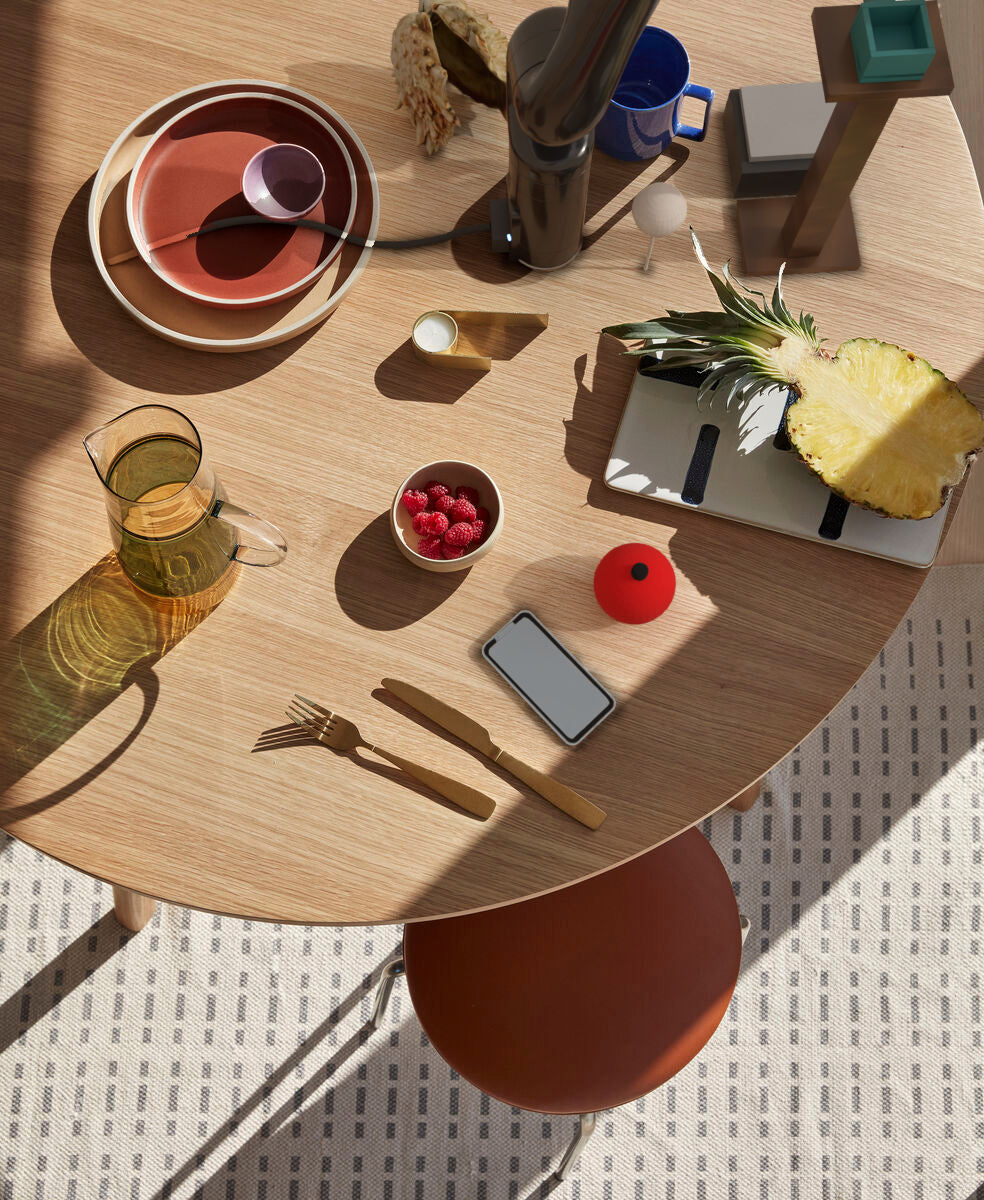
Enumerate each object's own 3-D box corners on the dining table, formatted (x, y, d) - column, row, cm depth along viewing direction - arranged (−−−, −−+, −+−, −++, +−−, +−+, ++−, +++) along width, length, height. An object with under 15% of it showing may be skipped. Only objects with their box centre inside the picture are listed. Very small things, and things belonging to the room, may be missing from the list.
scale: (733, 198, 138) (744, 168, 132) (722, 116, 141) (731, 83, 135) (845, 191, 138) (860, 161, 132) (831, 109, 141) (845, 76, 135)
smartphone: (571, 749, 120) (477, 650, 122) (571, 750, 120) (477, 652, 123) (620, 703, 121) (525, 606, 123) (619, 704, 122) (525, 607, 124)
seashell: (436, 86, 120) (556, 50, 124) (368, -28, 125) (485, -58, 129) (427, 199, 137) (533, 165, 141) (366, 95, 142) (470, 65, 146)
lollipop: (672, 249, 136) (692, 173, 121) (669, 292, 134) (689, 220, 120) (621, 245, 136) (636, 168, 121) (618, 288, 134) (632, 215, 120)
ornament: (659, 642, 123) (672, 621, 114) (581, 620, 124) (588, 598, 114) (677, 567, 125) (692, 541, 116) (601, 547, 126) (609, 519, 116)
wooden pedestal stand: (744, 277, 135) (818, 95, 104) (734, 205, 137) (803, 7, 106) (858, 269, 135) (965, 86, 104) (846, 198, 137) (947, -2, 106)
